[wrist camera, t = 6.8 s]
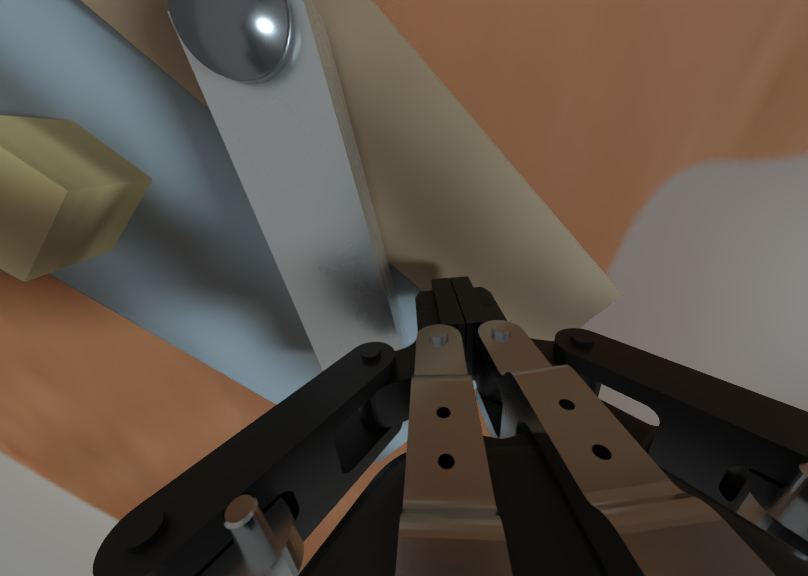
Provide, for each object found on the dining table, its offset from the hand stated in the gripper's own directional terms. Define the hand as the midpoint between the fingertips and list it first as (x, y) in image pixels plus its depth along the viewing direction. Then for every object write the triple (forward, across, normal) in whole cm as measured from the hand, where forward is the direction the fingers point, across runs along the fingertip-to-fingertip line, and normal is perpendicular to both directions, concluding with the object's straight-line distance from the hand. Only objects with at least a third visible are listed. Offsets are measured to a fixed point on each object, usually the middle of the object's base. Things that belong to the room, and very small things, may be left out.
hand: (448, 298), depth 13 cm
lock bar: (+1, +4, -3) cm, 5 cm away
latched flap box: (+4, +6, -2) cm, 8 cm away
